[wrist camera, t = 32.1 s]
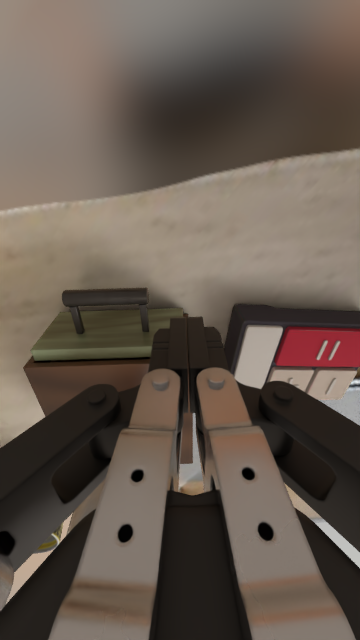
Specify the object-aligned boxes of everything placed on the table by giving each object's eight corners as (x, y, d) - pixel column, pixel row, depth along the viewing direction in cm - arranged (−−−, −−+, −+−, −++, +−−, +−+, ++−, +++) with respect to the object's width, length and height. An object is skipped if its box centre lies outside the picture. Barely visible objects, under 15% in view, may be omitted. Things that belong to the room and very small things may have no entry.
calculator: (344, 404, 31) (224, 404, 29) (324, 378, 35) (217, 377, 33) (390, 329, 25) (245, 324, 24) (360, 308, 29) (233, 303, 27)
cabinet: (60, 317, 28) (22, 367, 21) (187, 313, 28) (192, 362, 21) (89, 409, 36) (69, 467, 29) (189, 405, 36) (192, 463, 29)
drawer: (48, 274, 25) (11, 306, 19) (181, 269, 25) (183, 300, 19) (88, 403, 34) (72, 450, 29) (184, 400, 34) (186, 446, 29)
